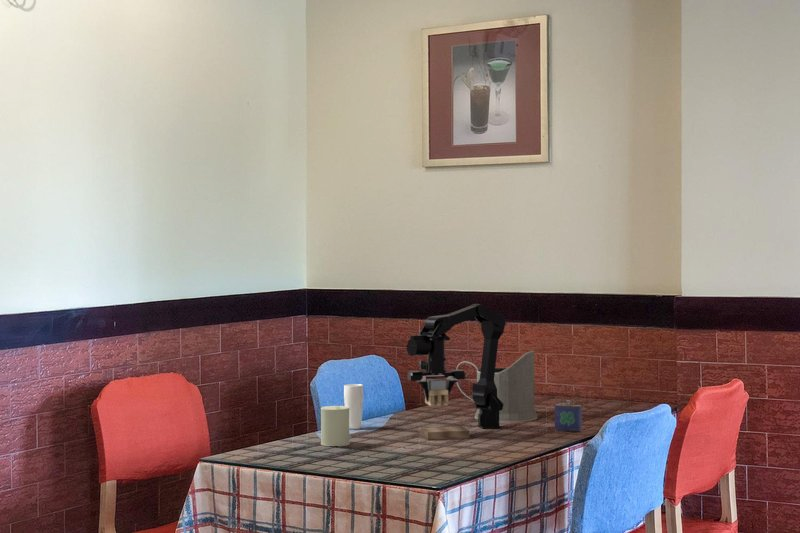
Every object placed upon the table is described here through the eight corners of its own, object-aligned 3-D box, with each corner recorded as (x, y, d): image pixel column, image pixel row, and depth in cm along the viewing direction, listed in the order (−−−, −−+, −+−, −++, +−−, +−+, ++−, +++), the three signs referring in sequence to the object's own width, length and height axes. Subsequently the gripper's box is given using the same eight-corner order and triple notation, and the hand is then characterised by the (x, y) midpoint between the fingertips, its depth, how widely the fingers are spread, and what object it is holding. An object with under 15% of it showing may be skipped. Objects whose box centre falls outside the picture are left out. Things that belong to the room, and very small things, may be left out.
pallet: (442, 402, 335) (442, 387, 335) (448, 405, 327) (448, 390, 327) (425, 402, 334) (425, 388, 334) (430, 406, 326) (430, 390, 326)
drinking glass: (360, 430, 340) (360, 386, 340) (341, 429, 341) (341, 386, 341) (365, 427, 346) (365, 384, 346) (346, 426, 348) (346, 383, 348)
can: (327, 447, 307) (327, 408, 307) (316, 443, 315) (315, 405, 315) (354, 445, 311) (354, 406, 311) (342, 440, 319) (342, 403, 319)
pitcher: (524, 423, 352) (523, 353, 352) (443, 418, 367) (443, 350, 367) (546, 415, 372) (545, 348, 372) (469, 410, 387) (468, 346, 387)
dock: (461, 433, 331) (461, 426, 331) (469, 438, 322) (469, 430, 322) (421, 435, 328) (421, 428, 328) (427, 440, 319) (427, 432, 319)
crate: (441, 388, 334) (441, 379, 334) (445, 389, 329) (445, 380, 329) (427, 388, 333) (427, 379, 333) (430, 390, 328) (430, 381, 328)
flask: (582, 431, 334) (582, 399, 334) (580, 432, 331) (580, 400, 331) (555, 430, 337) (555, 398, 337) (553, 431, 335) (553, 399, 335)
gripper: (457, 351, 340) (457, 397, 340) (403, 353, 337) (404, 399, 337) (465, 354, 329) (466, 401, 329) (410, 355, 326) (411, 403, 326)
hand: (436, 401), depth 331 cm, fingers closed on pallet, 6 cm apart
